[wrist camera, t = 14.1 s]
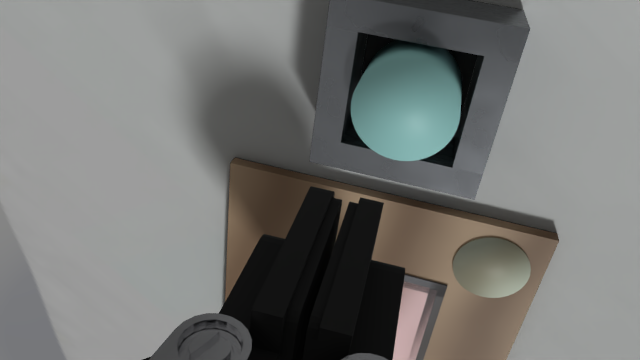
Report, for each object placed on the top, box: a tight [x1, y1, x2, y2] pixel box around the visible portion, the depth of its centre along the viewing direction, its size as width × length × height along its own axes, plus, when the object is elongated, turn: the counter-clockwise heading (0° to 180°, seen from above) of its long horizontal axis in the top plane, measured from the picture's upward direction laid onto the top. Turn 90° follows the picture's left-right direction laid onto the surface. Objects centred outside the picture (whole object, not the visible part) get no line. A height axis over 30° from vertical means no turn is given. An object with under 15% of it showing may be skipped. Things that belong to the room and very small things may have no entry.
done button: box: [351, 40, 462, 161], centre depth 21 cm, size 4×4×3 cm
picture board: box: [225, 158, 559, 360], centre depth 30 cm, size 16×16×1 cm
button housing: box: [310, 0, 530, 200], centre depth 22 cm, size 7×7×3 cm
